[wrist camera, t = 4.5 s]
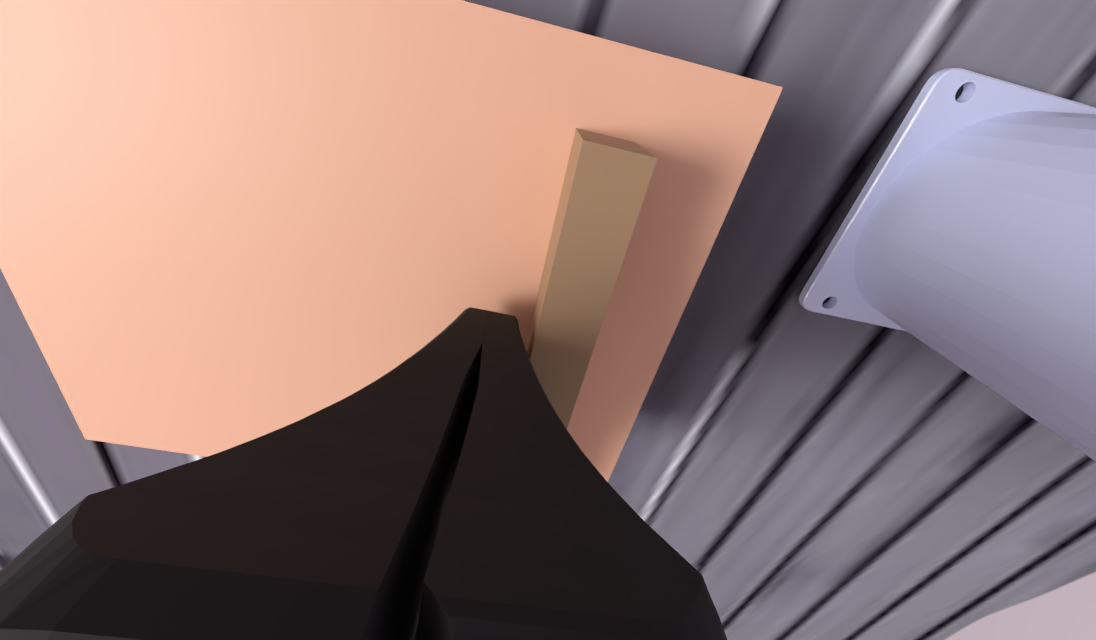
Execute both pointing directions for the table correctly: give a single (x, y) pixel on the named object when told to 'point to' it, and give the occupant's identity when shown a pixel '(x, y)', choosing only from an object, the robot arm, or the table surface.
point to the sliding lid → (348, 203)
